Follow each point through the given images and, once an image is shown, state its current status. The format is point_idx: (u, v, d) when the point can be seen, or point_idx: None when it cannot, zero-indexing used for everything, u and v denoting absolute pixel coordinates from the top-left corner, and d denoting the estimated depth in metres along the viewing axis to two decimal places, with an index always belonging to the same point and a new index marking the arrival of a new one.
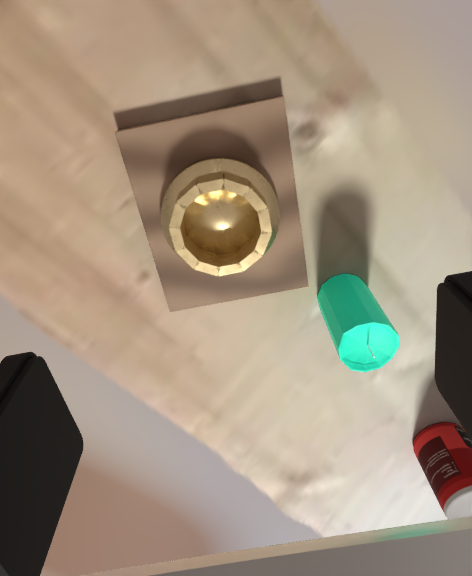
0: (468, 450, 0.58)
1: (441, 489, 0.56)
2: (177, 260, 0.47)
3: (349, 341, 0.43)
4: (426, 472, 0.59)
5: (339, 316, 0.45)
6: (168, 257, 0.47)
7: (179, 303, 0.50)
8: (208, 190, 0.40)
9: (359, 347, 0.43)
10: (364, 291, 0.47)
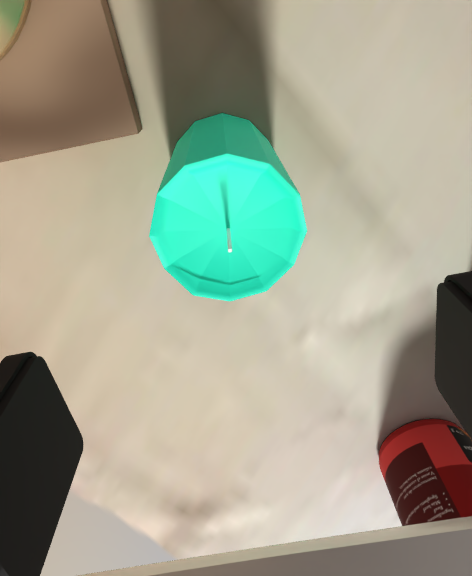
0: None
1: None
2: None
3: (179, 218, 0.17)
4: (397, 507, 0.34)
5: (169, 169, 0.18)
6: None
7: None
8: None
9: (208, 235, 0.17)
10: (248, 130, 0.21)
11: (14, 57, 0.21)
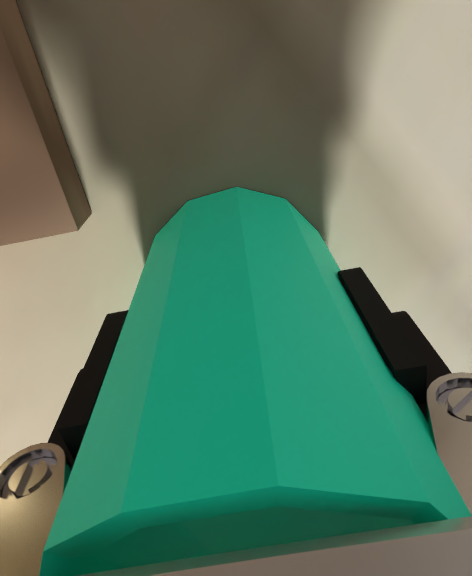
0: None
1: None
2: None
3: None
4: None
5: (110, 380, 0.07)
6: None
7: None
8: None
9: None
10: (294, 243, 0.10)
11: None
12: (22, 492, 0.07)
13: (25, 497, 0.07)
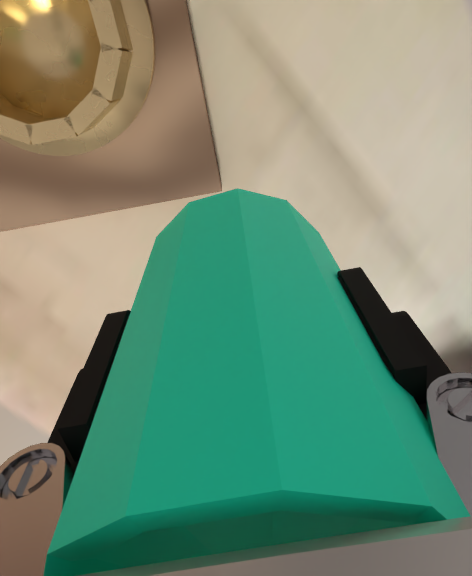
0: None
1: None
2: None
3: None
4: None
5: (113, 383, 0.07)
6: None
7: (1, 218, 0.29)
8: None
9: None
10: (296, 244, 0.10)
11: (130, 133, 0.27)
12: (22, 492, 0.07)
13: (25, 497, 0.07)
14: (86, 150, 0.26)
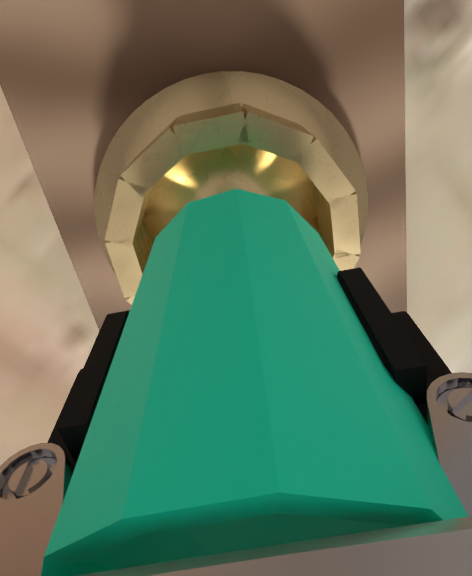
0: None
1: None
2: None
3: None
4: None
5: (112, 384, 0.07)
6: (120, 302, 0.22)
7: None
8: (204, 144, 0.15)
9: None
10: (295, 245, 0.10)
11: None
12: (22, 492, 0.07)
13: (25, 497, 0.07)
14: None
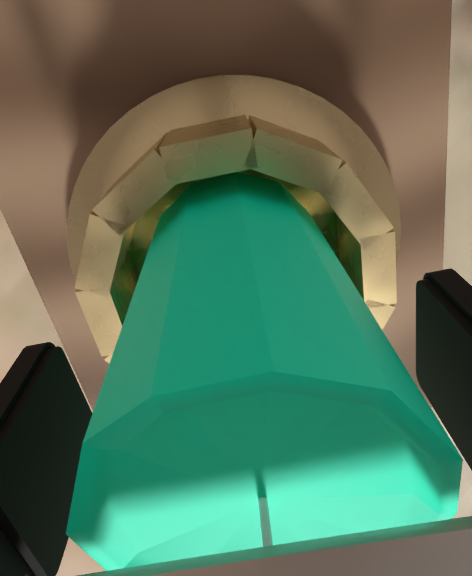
0: None
1: None
2: None
3: (143, 482, 0.07)
4: None
5: (129, 325, 0.09)
6: None
7: None
8: (199, 171, 0.12)
9: (214, 511, 0.07)
10: (288, 216, 0.11)
11: None
12: None
13: None
14: None
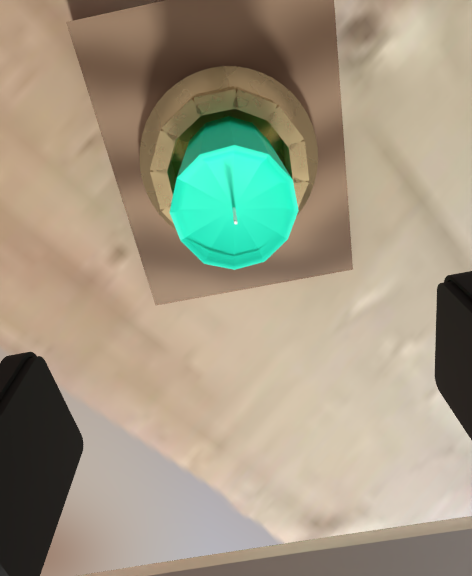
0: None
1: None
2: (165, 229, 0.33)
3: (194, 198, 0.20)
4: None
5: (185, 160, 0.22)
6: (152, 225, 0.32)
7: (168, 293, 0.35)
8: (211, 109, 0.25)
9: (217, 213, 0.21)
10: (251, 129, 0.25)
11: None
12: None
13: None
14: None
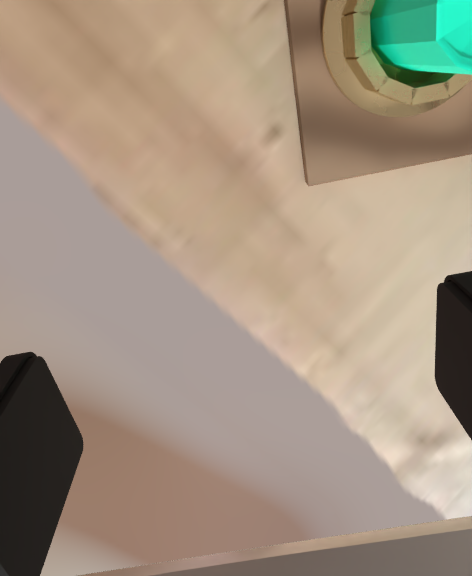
0: None
1: None
2: (332, 99, 0.33)
3: None
4: None
5: None
6: (320, 94, 0.33)
7: (323, 172, 0.35)
8: None
9: None
10: None
11: None
12: None
13: None
14: (420, 112, 0.32)
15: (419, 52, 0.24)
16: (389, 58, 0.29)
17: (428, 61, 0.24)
